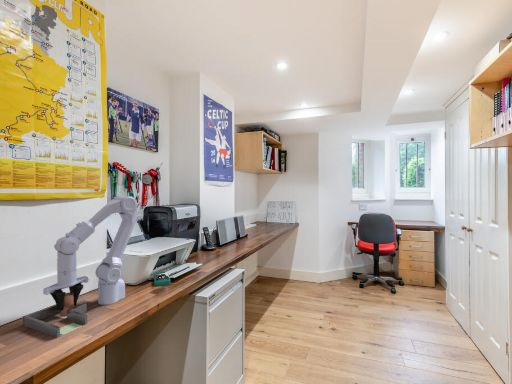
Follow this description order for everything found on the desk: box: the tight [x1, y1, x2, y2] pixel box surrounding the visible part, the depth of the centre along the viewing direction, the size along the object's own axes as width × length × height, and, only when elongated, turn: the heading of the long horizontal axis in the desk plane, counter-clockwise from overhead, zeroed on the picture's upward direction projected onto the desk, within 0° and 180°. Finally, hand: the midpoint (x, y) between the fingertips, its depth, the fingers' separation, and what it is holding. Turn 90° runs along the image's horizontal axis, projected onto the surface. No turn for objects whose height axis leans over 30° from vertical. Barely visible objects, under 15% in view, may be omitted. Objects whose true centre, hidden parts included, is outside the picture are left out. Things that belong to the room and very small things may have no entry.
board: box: [53, 312, 82, 336], centre depth 94 cm, size 16×22×1 cm
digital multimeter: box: [153, 271, 171, 287], centre depth 139 cm, size 7×15×3 cm, turn 22°
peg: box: [60, 291, 75, 316], centre depth 100 cm, size 4×4×7 cm
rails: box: [22, 303, 89, 339], centre depth 95 cm, size 15×18×3 cm
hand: (67, 307), depth 100 cm, fingers closed on peg, 4 cm apart
